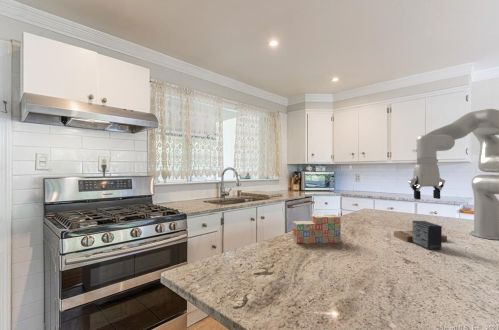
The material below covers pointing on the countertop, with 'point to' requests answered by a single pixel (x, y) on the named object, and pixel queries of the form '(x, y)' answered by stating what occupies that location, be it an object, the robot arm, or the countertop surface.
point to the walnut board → (410, 236)
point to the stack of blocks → (317, 229)
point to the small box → (427, 235)
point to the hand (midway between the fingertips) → (427, 198)
